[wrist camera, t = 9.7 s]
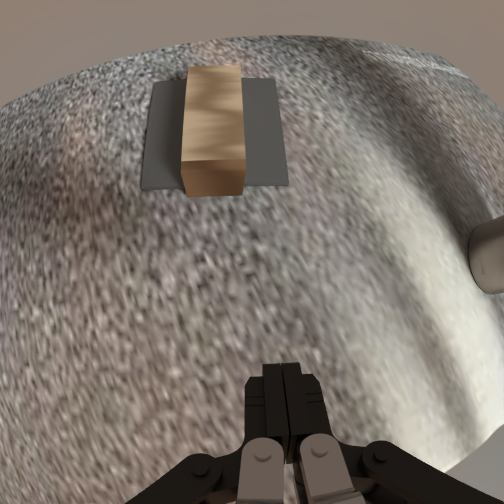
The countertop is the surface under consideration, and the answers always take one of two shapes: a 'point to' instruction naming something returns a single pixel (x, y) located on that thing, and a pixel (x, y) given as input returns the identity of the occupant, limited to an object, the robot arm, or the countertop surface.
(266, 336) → the countertop surface
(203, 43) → the countertop surface
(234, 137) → the maple block
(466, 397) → the countertop surface
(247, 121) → the mat
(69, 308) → the countertop surface
